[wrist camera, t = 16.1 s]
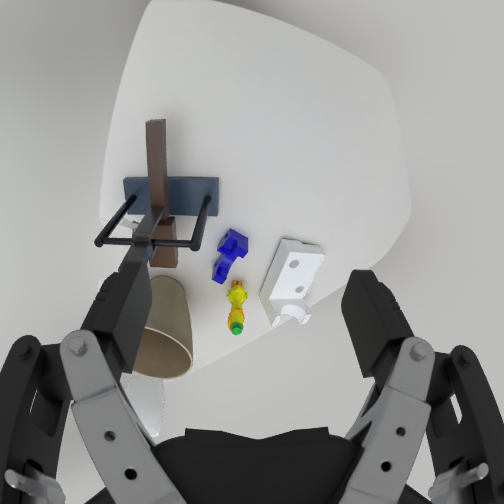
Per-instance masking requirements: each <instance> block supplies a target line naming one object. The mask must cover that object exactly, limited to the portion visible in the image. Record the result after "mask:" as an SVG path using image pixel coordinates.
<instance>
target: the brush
mask: <svg viewBox="0 0 504 504" xmlns="http://www.w3.org/2000/svg"><path fill="white" fill-rule="evenodd" d="M146 146H147V165H148V179H149V191H150V202H151V207H150V208H149V210H148V212H147V213H146V215H145V216H144V218H143V219H142V221H141V222H140V224H139V226H138V227H137V229H136V230H135V232H134V233H133V235H132V238H133V243H132V245H131V247H130V249H129V250H128V252H127V254H126V256H125V257H124V259H123V261H122V263H121V265H120V267H119V269H118V272H120V270H121V268H122V266H123V264H124V263H125V261H126V260H136V261H145V262H146V264H147V263H148V260H149V263H150V267H162V268H176V266H177V263H178V248H177V247H163V246H152V240H151V239H165V240H177V236H176V223H175V217H169V201H168V185H167V163H166V119H158V120H150V121H147V122H146Z"/></svg>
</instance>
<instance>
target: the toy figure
mask: <svg viewBox="0 0 504 504" xmlns="http://www.w3.org/2000/svg"><path fill="white" fill-rule="evenodd" d="M227 297H228V298H229V301H230V302H231V303H232V307H231V312H230V313H229V317H228V328H229V330H230V331H232V333H233V334H235V335H238V334H240V333H241V332H242V331H241V330H242V329H243V321H244V314H243V311H242V306H241V304H242V303H243V302H244V301H245V300H246V299H247V292H245V291H244V289H243V288H242V285H241V282H238V284H237V285H236V281H233V283H232V287H231V289H230V290H228V291H227Z"/></svg>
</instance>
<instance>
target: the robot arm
mask: <svg viewBox="0 0 504 504" xmlns="http://www.w3.org/2000/svg"><path fill="white" fill-rule="evenodd" d="M151 306H152V289H151V284H150V279H149V273H148V268H147V264H146V262H145V261H136V260H126V261H125V263H124V264H123V266H122V268H121V270H120V272H119V273H118V272H114V273H113V274H111V275H110V276H109V277H108V278H107V279H106V280H105V281H104V283H103V284H102V286H101V288H100V292H98V294H97V296H96V298H95V300H94V302H93V304H92V306H91V308H90V310H89V312H88V314H87V316H86V318H85V320H84V322H83V324H82V326H81V328H80V330H76V331H73V332H71V333H69V334H68V335H67V336H66V337H65V338H64V339H63V341H62V342H61V343H59V344H51V345H41V343H40V342H39V341H38V339H37V338H36V337H34V336H32V335H26V336H23V337H21V338H19V339H18V340H16V341H15V343H14V344H13V345H12V347H11V350H10V351H9V354H8V356H7V358H6V360H5V363H4V365H3V368H2V370H1V372H0V504H65V503H64V502H65V495H64V493H63V491H62V489H61V486H60V485H59V483H58V482H57V481H56V472H57V465H58V458H59V452H60V446H61V441H62V436H63V431H64V427H65V422H66V418H67V413H68V409H69V405H70V401H71V400H74V403H73V404H71V409H72V412H73V416H74V418H75V421H76V424H77V426H78V429H79V431H80V434H81V436H82V439H83V441H84V443H85V446H86V448H87V450H88V452H89V455H90V457H91V459H92V461H93V463H94V465H95V467H96V469H97V471H98V473H99V475H100V477H101V478H102V481H103V482H104V484H105V486H106V487H105V488H104V489H103V490H101V491H100V492H99V493H97V494H96V495H95V496H94V497H92V498H91V499H90V500H89V501H87V502H86V503H84V504H504V423H503V420H502V417H501V414H500V412H499V409H498V406H497V403H496V401H495V398H494V395H493V393H492V390H491V388H490V386H489V383H488V381H487V378H486V376H485V374H484V372H483V369H482V367H481V365H480V363H479V361H478V359H477V356H476V355H475V353H474V352H473V351H472V350H471V349H470V348H468V347H466V346H463V345H459V346H456V347H455V348H454V349H453V350H452V351H451V353H450V354H446V353H440V352H434V351H433V348H432V347H431V345H430V344H429V343H428V342H426V341H425V340H423V339H421V338H419V337H415V336H414V334H413V332H412V330H411V328H410V326H409V324H408V322H407V320H406V318H405V316H404V314H403V312H402V310H400V307H399V305H398V303H397V302H396V299H395V297H394V296H393V294H392V292H391V291H390V289H388V288H387V287H386V286H385V285H384V284H383V283H381V282H378V280H377V278H376V276H375V274H374V273H373V271H372V270H353V271H352V272H351V275H350V278H349V281H348V283H347V286H346V289H345V292H344V295H343V298H342V303H341V309H342V314H343V317H344V320H345V322H346V325H347V328H348V331H349V334H350V337H351V340H352V343H353V346H354V349H355V353H356V356H357V359H358V362H359V365H360V368H361V372H362V375H363V378H367V377H374V379H375V383H374V384H373V386H372V387H371V390H370V392H369V394H368V397H367V399H366V401H365V403H364V405H363V407H362V409H361V411H360V413H359V415H358V417H357V419H356V421H355V423H354V424H353V426H352V427H351V429H350V430H349V431H348V433H347V434H346V436H345V437H344V438H343V437H340V436H335V435H330V434H329V432H328V427H320V428H312V429H299V430H293V431H290V432H286V433H283V434H279V435H276V436H272V437H268V438H264V439H258V440H257V439H252V438H247V437H243V436H239V435H235V434H231V433H227V432H223V431H213V430H198V429H187V428H186V429H185V436H179V437H175V438H171V439H168V440H166V441H163V442H161V443H159V444H157V445H156V444H155V442H154V441H153V439H152V437H151V436H150V434H149V433H148V431H147V430H146V428H145V427H144V425H143V424H142V422H141V420H140V419H139V417H138V415H137V413H136V412H135V410H134V408H133V406H132V404H131V402H130V400H129V398H128V397H127V395H126V393H125V391H124V389H123V387H122V385H121V383H120V377H121V373H122V372H123V373H129V374H132V371H133V367H134V363H135V360H136V356H137V352H138V349H139V345H140V342H141V338H142V335H143V332H144V328H145V325H146V322H147V319H148V315H149V312H150V309H151ZM36 390H37V392H36ZM35 393H36V395H35ZM453 394H455V395H456V398H457V401H458V403H459V406H460V409H461V413H462V419H461V422H460V424H458V421H457V417H456V414H455V411H454V408H453V405H452V402H451V399H450V397H451V396H453ZM34 396H35V399H34ZM33 399H34V402H33ZM32 402H33V405H32ZM31 406H32V409H31ZM30 409H31V413H30ZM425 431H426V435H427V439H428V443H429V447H430V452H431V456H432V461H433V466H434V471H435V476H436V479H435V481H434V483H433V486H432V487H431V488H430V489H429V491H428V496H429V497H430V498H432V499H431V502H430V501H429V500H428V499H426V498H425V497H423V496H422V495H421V494H419V493H418V492H417V491H415V490H414V489H413V488H411V487H410V486H409V485H407V484H406V481H407V479H408V477H409V475H410V472H411V470H412V467H413V464H414V462H415V459H416V456H417V454H418V451H419V448H420V445H421V442H422V439H423V436H424V433H425Z"/></svg>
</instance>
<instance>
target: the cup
mask: <svg viewBox="0 0 504 504" xmlns="http://www.w3.org/2000/svg"><path fill="white" fill-rule="evenodd" d="M125 393H126V395H127V397H128V398H129V400H130V402H131V404H132V406H133V408H134V410H135V412H136V413H137V415H138V417H139V419H140V420H141V422H142V424H143V425H144V427H145V428H146V430H147V431H148V433H149V434H150V436H151V437H156V436H158V435H159V433H160V427H161V422H162V417H163V407H164V388H163V380H162V379H157V378H151V377H147V376H143V375H140V374H138V373H135V372H134V374H133V375H132V377H131V379H130V381H129V383H128V385H127V387H126V390H125Z"/></svg>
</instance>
